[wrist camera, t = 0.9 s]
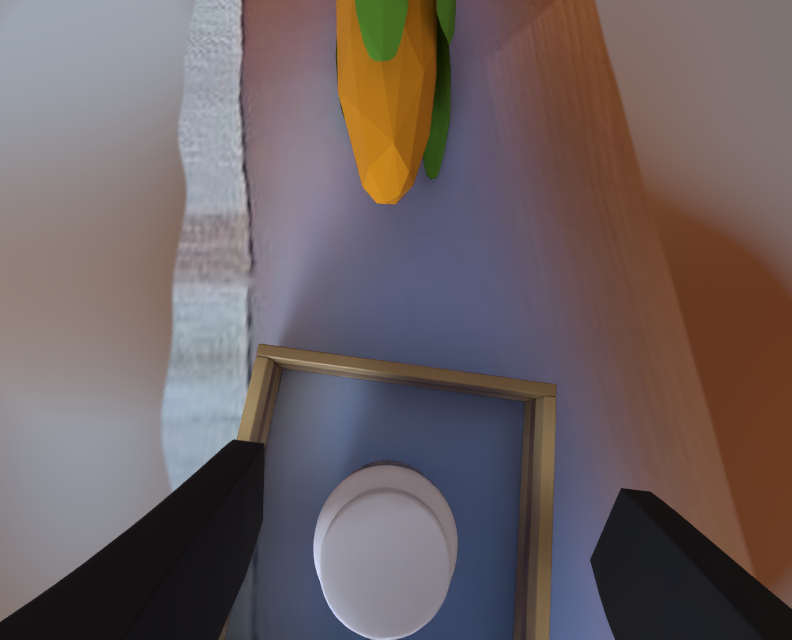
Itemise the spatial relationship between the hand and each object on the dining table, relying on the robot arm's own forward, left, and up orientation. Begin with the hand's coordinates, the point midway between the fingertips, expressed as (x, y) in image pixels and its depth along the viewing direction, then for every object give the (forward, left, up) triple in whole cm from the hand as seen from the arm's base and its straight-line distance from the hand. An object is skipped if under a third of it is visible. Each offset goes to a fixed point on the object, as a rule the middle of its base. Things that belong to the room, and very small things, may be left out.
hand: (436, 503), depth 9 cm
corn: (+23, +4, -14) cm, 27 cm away
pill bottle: (-2, +1, -14) cm, 14 cm away
